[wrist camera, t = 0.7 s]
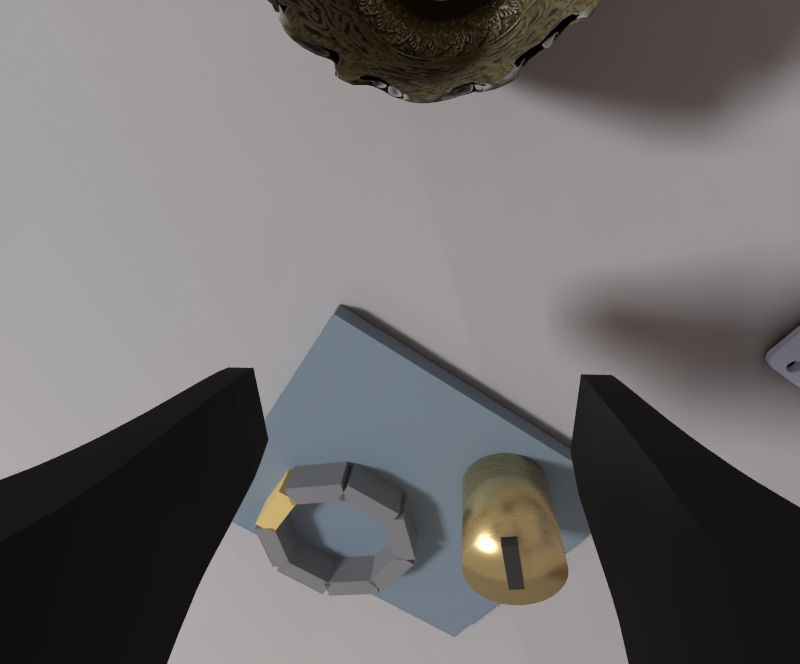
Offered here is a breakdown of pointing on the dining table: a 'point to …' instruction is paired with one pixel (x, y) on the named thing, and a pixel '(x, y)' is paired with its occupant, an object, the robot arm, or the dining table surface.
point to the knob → (511, 531)
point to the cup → (429, 40)
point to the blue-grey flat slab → (386, 474)
